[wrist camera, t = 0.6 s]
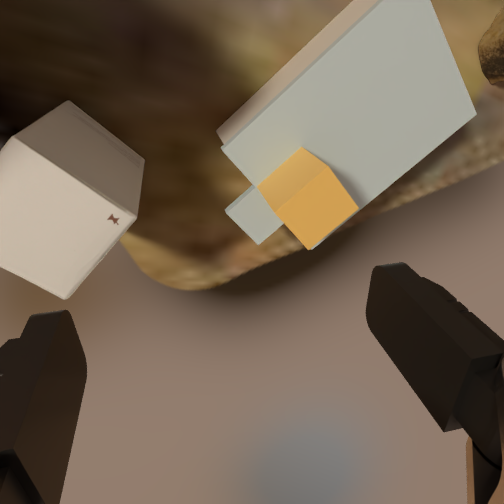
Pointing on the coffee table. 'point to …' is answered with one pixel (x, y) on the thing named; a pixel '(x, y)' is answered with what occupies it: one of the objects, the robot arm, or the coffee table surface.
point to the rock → (493, 50)
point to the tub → (294, 67)
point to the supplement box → (65, 198)
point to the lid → (349, 124)
